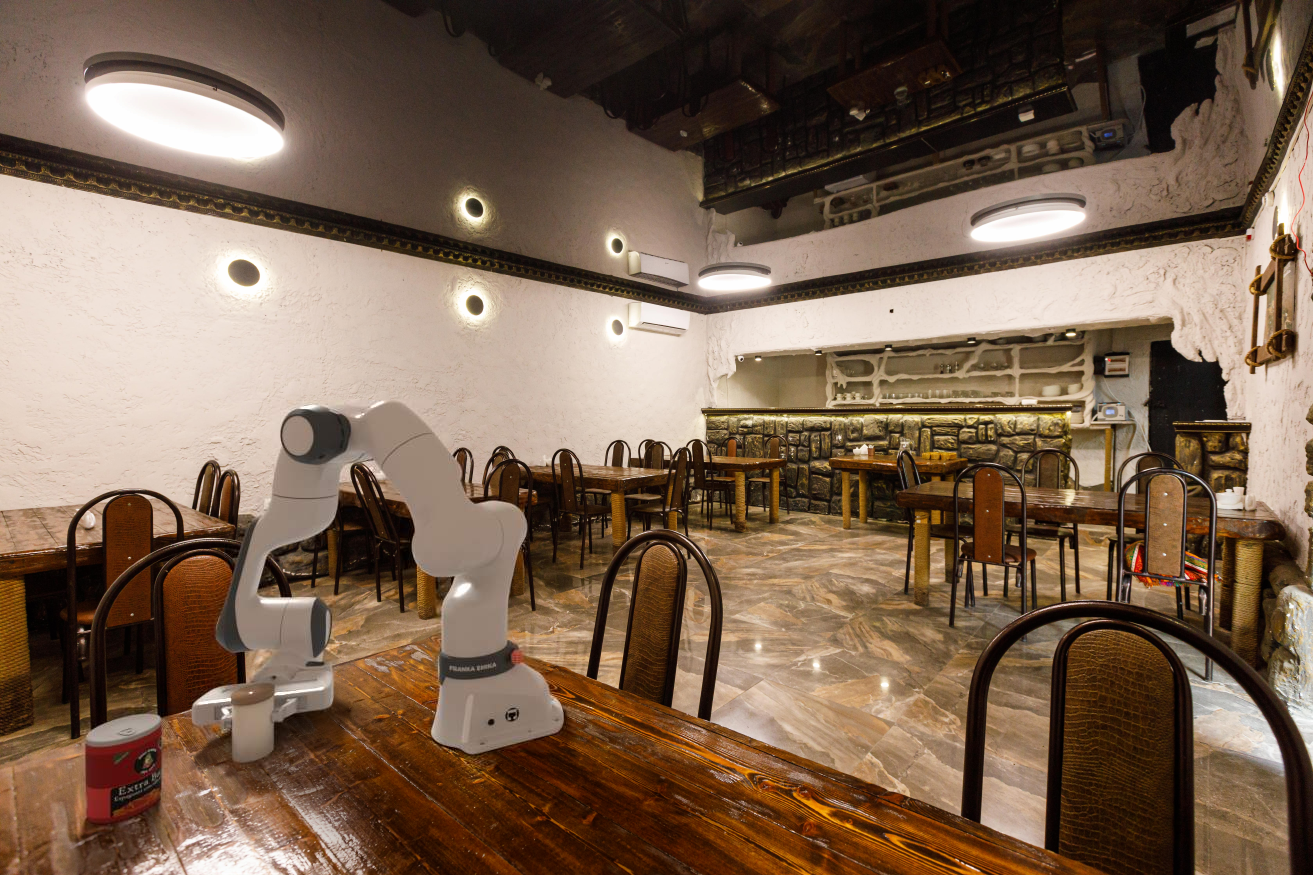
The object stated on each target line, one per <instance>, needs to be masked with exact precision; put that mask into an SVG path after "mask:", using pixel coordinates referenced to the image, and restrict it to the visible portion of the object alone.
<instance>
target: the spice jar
mask: <svg viewBox="0 0 1313 875" xmlns="http://www.w3.org/2000/svg"><path fill="white" fill-rule="evenodd" d="M274 694H275V685H274V684H271V683H259V684H253V685H249V686H245V687H242V688H240V689H238V690H236V691H234V692H233V693H232V694H231V704H232V728H231V759H232V761H233V762H234V763H237V764H239V763H240V764H243V763H249V762H250V763H251V762H254V761H257V760H260V759H262V758H264V757H267V756H268V755H269V754H271V753H272V752H273V751H274V749H275V723H271V719H272V718H271V713H272V711H273V710H274Z"/></svg>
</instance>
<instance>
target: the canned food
mask: <svg viewBox="0 0 1313 875" xmlns="http://www.w3.org/2000/svg"><path fill="white" fill-rule="evenodd" d="M162 725H163V724H162V718H161V716H160V715H158V714H154V713H153V714H152V713H139V714H131V715H128V716H123V717H120V718H117V719H113V720H110V721H108V722H104V723H103V724H100V725H98V726H96V727H95V728H93V729H91V730H90V731H89V732H88V733H87V734H86V736H85V744H84V745H85V749H84V754H85V756H84V758H85V759H84V760H85V761H84V762H85V764H84V766H85V770H84V772H85V775H84V776H85V777H84V778H85V779H84V780H85V815H86V816H87V819H88V821H89V822H91V823H94V824H112V823H117V822H120V821H123V820H126V819H129V818H132V817H134V816H137V815H139V814H141V813H142V812H145V811H146V810H148V809H149V808H151V807H152V806H153V805H155V803H157V802H158V800H159V798H160V796H161V793H162V786H163V785H162V779H163V778H162V775H163V774H162V773H163V772H162V771H163V770H162V769H163V767H162V766H163V765H162V764H163V763H162V761H163V760H162V758H163V757H162V756H163V754H162V751H163V750H162V749H163V747H162V746H163V741H162V740H163V739H162V738H163V736H162V734H163V731H162V729H163V728H162V727H163V726H162Z"/></svg>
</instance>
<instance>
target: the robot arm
mask: <svg viewBox="0 0 1313 875" xmlns="http://www.w3.org/2000/svg"><path fill="white" fill-rule="evenodd" d="M279 430H280V431H279V432H280V433H279V437H280V444H281V447H280V450H279V454H278V456H277V460H276V464H275V467H274V473H273V479H272V488H271V498H270V502H269V504H268V506H267V508H266V510H265V511H264V513H263V514H262V515H259V516H257V517H255V518H253V519H252V521H251V522H250V523H249V526H248V527H247V529H246V531H245V534H244V537H243V539H242V542H241V546H240V548H239V552H238V556H237V559H236V563H235V566H234V570H233V574H232V578H231V582H230V585H229V588H228V592H227V595H226V597H225V602H224V604H223V607H222V608H221V612H220V615H219V618H218V619H217V623H216V627H215V639H216V641H217V642H218V644H219V645H220V646H221V647H223V648H224V649H225V650H227V651H228V652H229V653H241V652H243V653H244V652H250V651H251V652H252V651H257V650H260V651H261V650H265V651H266V650H276V651H275V653H273V654H272V655H271V657H270V658H269V660H267V662H266V663H265V664H263V665H262V667H261V668H260V669H259V670H258V671H257V672H256V673H255V674H254V675H253V677H252V678H251V679H250V682H247V683H239V684H238V683H237V684H228V685H223V686H218V687H215V688H213V689H211V690H209V691H208V692H206V693H205V694H203V695H202V696H201V697H199V698H198V699H197V700H196V701H194V703H193V704H192V707H191V721H192V724H194V725H195V726H204V725H212V724H214V725H215V724H220V730H227V729H228V730H229V729H232V704H231V694H232V693H233V692H234V691H236V690H238V689H240V688H242V687H245V686H249V685H253V684H259V683H271V684H274V685H275V694H274V710H273V711H272V713H271V718H272V719H271V723H274V724H275V723H282V722H283V721H284V720H285V718H288V717H290V716H291V715H293V714H299V713H306V712H313V711H321V710H326V709H328V708H330V707H331V706H332V704H333V701H334V688H335V687H334V686H335V685H334V683H335V682H334V670H333V663H332V662H330V661H323V658H324V657H323V656H324V651H325V649H326V648H328V647H327V646H328V645H329V642H330V640H331V635H332V629H333V613H332V610H331V609H330V607H329V606H328V604H327V603H326V602H325V601H324V600H323V599H322V598H321V597H317V596H316V597H315V596H314V597H312V596H311V597H310V596H309V597H308V596H305V597H304V596H299V597H298V596H292V597H263V596H260V595H259V594H258V588H259V585H260V582H261V577H262V573H263V570H264V566H265V563H266V560H267V558H268V555H269V553H271V552H272V551H274V550H276V549H278V548H280V547H284V546H288V545H291V544H294V543H298V542H302V541H304V540H307V539H309V538H312V537H314V536H316V535H318V534H320V533H321V532H323V531H324V530H325V529H327V528H328V527H329V526H330V525H331V524H332V523H333V521H334V519H335V517H336V514H337V510H338V505H339V497H340V496H339V493H340V476H341V472H342V470H343V468H344V467H345V466H346V465H347V464H354V463H358V464H361V463H366V462H371V461H372V462H373V461H374V462H375V463H376V465H377V466H378V467H379V469H380V470H381V472H382V473H383V474H384V475H385V477H386V479H388V481H389V482H390V484H391V485H392V486H393V488H394V489H395V490H396V492H397V493H398V494H399V496H400V497H401V498H402V500H403V501H404V503H405V505H406V507H407V509H408V510H409V513H410V516H411V518H412V521H413V526H414V533H413V536H412V541H411V552H412V556H413V560H414V561H415V563H416V565H417V566H418V567H419V569H420V570H422V572H424V574H427V575H428V576H432V577H435V578H447V577H449V578H450V577H454V578H453V582H452V584H451V586H450V589H449V591H448V592H447V594H446V596H445V597H444V600H443V602H442V606H441V646H440V648H439V651H438V656H437V678H438V683H439V693H438V699H437V700H438V701H437V707H436V713H435V717H434V720H433V724H432V726H431V730H430V733H431V737H432V738H433V739H434V740H435V741H436V742H437V743H439V744H440V745H443V746H448V747H452V748H456V749H460V750H461V751H463V752H464V753H466V754H469V755H475V754H476V755H477V754H481V753H484V752H489V751H492V750H496V749H501V748H503V747H508V746H511V745H515V744H519V743H523V742H527V741H531V740H534V739H538V738H542V737H546V736H550V735H553V734H556V733H559V731H560V730H561V729H562V727H563V725H564V721H565V718H564V710H563V707H562V704H561V702H560V701H559V700H558V698H556V697H555V696H554V695H552V694H551V692H550V688H549V685H548V683H547V680H546V679H545V677H544V676H543V675H542V674H541V673H540V672H539V671H537V670H535V669H534V668H532V667H530V666H529V665H526V664H525V663H524V662H523V661H524V655H523V652H522V650H520V648H519V645H518V644H517V642H516V640H515V639H512V640H509V639H508V614H509V611H508V610H509V609H508V608H509V596H510V590H511V584H512V579H513V576H514V572H515V566H516V562H517V559H518V554H519V551H520V549H521V546H522V544H523V542H524V540H525V539H526V538H527V533H528V522H527V518H526V517H525V514H524V513H523V511H522V509H520V508H519V507H518V506H516V505H515V504H513V503H511V502H504V501H499V500H487V501H483V502H479V503H474V502H473V501H471V499H470V498H469V497H468V495H467V493H466V491H465V489H464V487H463V484H462V481H461V480H462V477H463V469H462V467H461V465H460V463H459V462H458V461H457V459H456V458H455V456H453V455H452V452H450V451H449V449H448V448H447V447H446V446H445V444H444V443H443V442H442V441H441V440H440V438H439V437H438V435H437V434H436V433H435V432H434V431H433V430H432V429H431V428H430V426H429V425H428V424H427V423H426V422H425V420H423V419H422V418H421V417H420V416H419V415H418V414H416V412H415V411H413V409H411V408H409V407H408V406H407V405H406V404H404V403H403V402H401V401H398V400H393V399H388V400H382V401H379V402H377V403H374V404H373V405H371V406H370V405H369V406H362V405H351V404H348V403H347V404H345V403H344V404H340V403H338V404H335V403H333V404H326V405H319V404H311V405H310V404H309V405H306V406H301V407H298V408H296V409H293V410H292V411H290V412H288V414H287V415H286V416H285V417H284V419H283V420H282V423H281V425H280V429H279Z"/></svg>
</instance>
